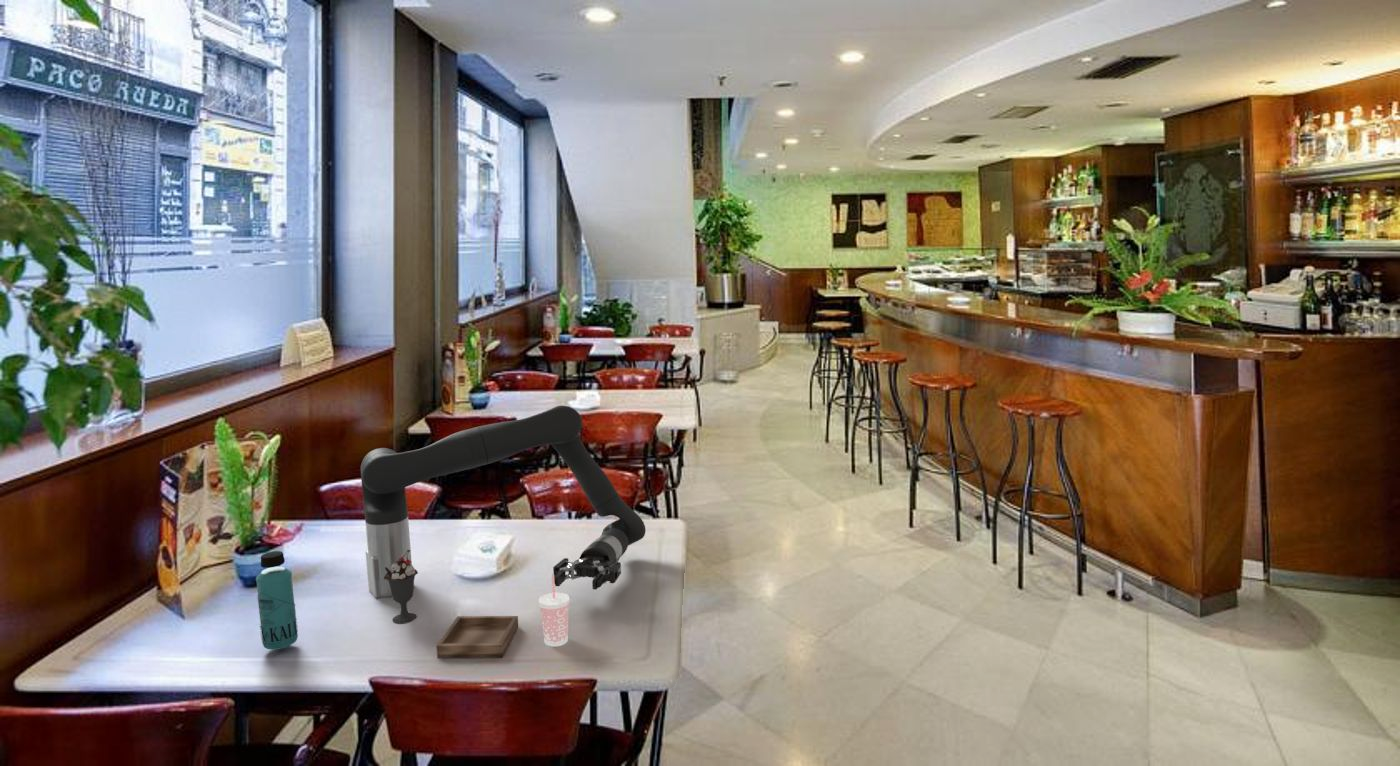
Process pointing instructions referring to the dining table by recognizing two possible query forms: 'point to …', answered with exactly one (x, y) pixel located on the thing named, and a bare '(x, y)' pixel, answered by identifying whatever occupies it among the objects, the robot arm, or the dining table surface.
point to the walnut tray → (478, 637)
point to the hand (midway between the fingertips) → (575, 583)
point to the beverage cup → (554, 617)
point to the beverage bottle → (276, 602)
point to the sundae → (402, 587)
